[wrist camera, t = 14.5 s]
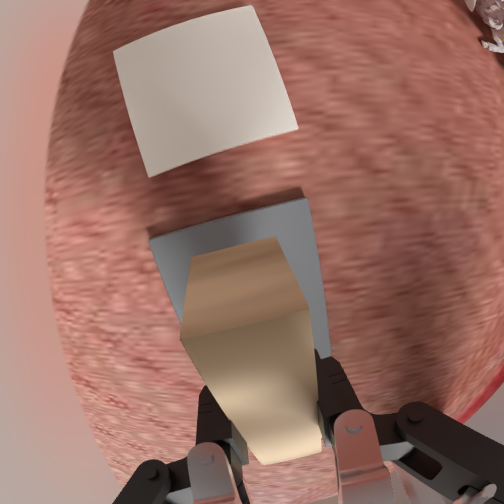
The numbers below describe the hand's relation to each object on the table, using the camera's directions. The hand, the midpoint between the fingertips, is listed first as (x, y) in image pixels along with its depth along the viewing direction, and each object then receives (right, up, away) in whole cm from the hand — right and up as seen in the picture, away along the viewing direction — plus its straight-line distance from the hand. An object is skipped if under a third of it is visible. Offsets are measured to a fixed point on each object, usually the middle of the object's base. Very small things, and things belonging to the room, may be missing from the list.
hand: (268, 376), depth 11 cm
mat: (0, +1, +6) cm, 7 cm away
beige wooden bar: (0, -2, +2) cm, 3 cm away
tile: (-2, +11, +3) cm, 11 cm away
